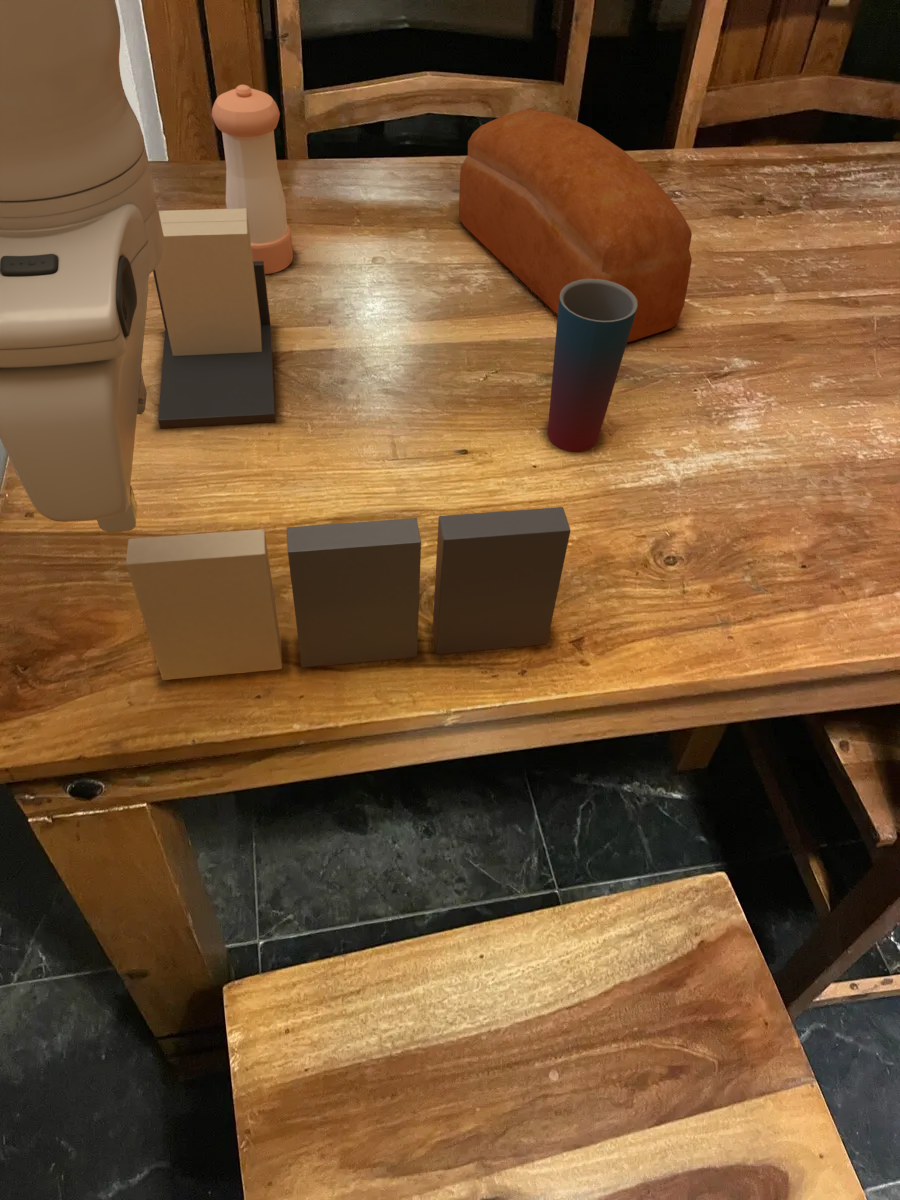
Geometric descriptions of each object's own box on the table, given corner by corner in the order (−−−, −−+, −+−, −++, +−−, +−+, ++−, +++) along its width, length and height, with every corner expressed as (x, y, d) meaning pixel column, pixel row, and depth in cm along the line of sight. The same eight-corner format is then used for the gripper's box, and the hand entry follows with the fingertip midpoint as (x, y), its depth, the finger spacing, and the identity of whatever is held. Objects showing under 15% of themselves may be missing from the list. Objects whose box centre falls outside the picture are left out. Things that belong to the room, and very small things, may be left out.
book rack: (159, 428, 90) (129, 298, 79) (167, 333, 100) (140, 206, 89) (275, 421, 91) (260, 293, 81) (271, 328, 101) (257, 203, 91)
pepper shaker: (230, 275, 108) (206, 100, 93) (230, 243, 113) (207, 72, 98) (294, 273, 109) (279, 100, 94) (291, 241, 114) (277, 71, 99)
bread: (538, 197, 124) (553, 71, 112) (690, 326, 106) (728, 191, 94) (446, 217, 119) (453, 88, 107) (590, 355, 101) (616, 217, 89)
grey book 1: (301, 667, 72) (287, 552, 62) (300, 643, 74) (286, 526, 64) (417, 657, 73) (421, 542, 64) (413, 633, 75) (416, 517, 65)
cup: (541, 409, 95) (561, 274, 83) (608, 418, 94) (638, 283, 83) (535, 453, 90) (556, 316, 79) (606, 462, 90) (637, 326, 78)
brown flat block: (162, 680, 71) (125, 564, 61) (163, 655, 72) (128, 538, 62) (282, 669, 72) (265, 553, 62) (281, 645, 74) (264, 528, 64)
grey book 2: (436, 654, 74) (443, 539, 64) (432, 631, 75) (438, 515, 65) (547, 644, 75) (571, 530, 65) (540, 621, 76) (563, 506, 67)
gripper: (12, 118, 47) (84, 353, 57) (-68, 359, 34) (44, 606, 44) (142, 115, 48) (189, 347, 58) (112, 349, 35) (180, 593, 45)
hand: (126, 461), depth 51 cm, fingers open, 8 cm apart
